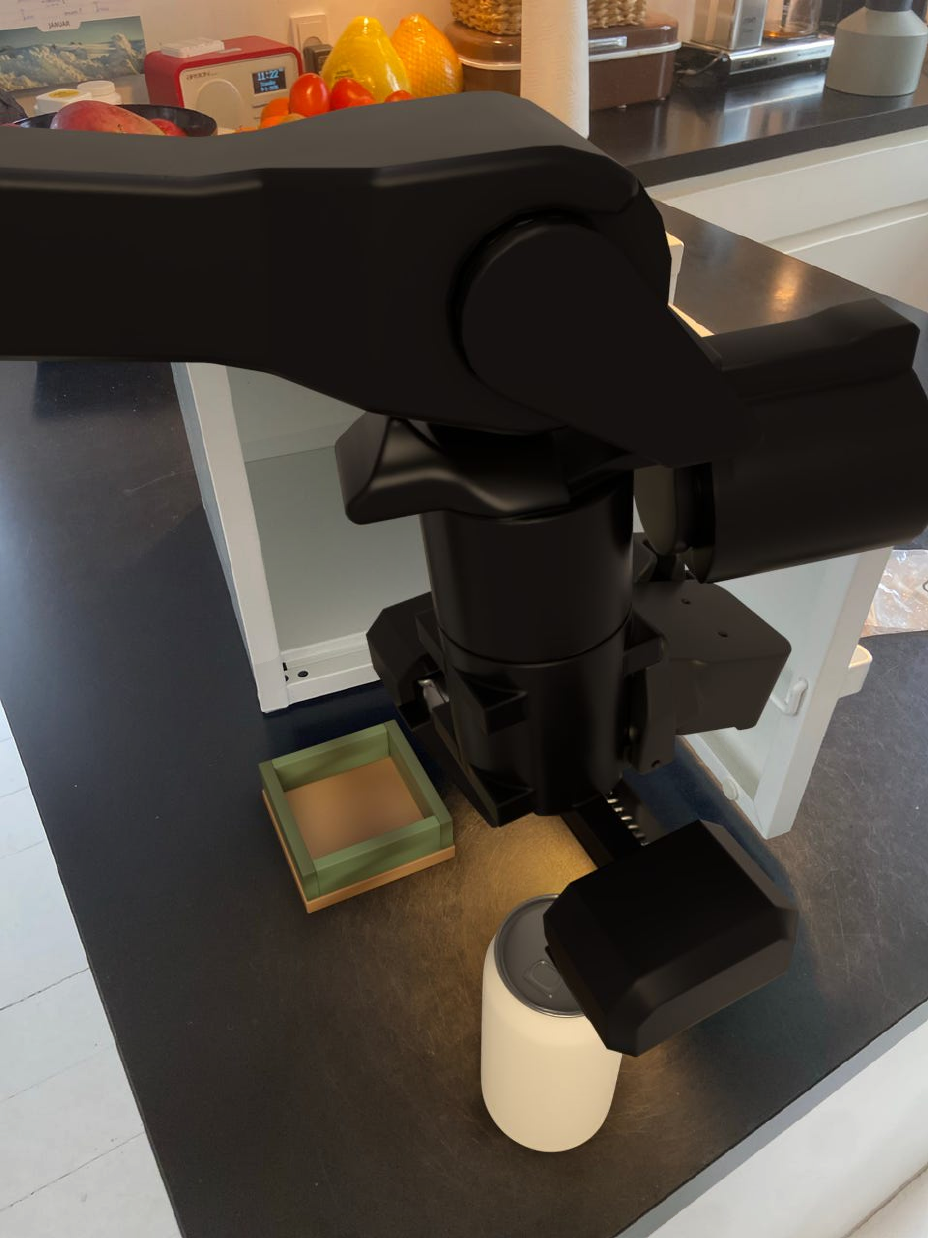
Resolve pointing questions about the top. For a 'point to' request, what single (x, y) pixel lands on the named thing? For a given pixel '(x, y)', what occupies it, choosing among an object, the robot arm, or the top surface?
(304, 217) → the robot arm
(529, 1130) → the can
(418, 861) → the tray
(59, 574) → the top surface
